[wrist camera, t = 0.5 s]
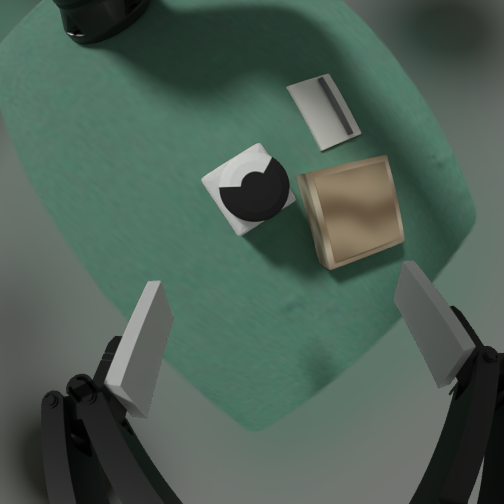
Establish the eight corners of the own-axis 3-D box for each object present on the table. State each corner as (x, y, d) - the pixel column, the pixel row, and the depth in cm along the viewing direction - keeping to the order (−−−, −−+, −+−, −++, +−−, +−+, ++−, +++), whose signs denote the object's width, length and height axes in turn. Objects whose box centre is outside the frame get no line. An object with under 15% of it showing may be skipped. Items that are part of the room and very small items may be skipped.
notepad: (285, 89, 32) (288, 84, 30) (326, 76, 32) (331, 71, 30) (319, 151, 34) (324, 149, 33) (358, 135, 35) (364, 132, 33)
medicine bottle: (282, 199, 35) (313, 200, 23) (235, 230, 35) (243, 246, 23) (252, 152, 33) (268, 129, 21) (204, 183, 33) (195, 174, 21)
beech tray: (295, 176, 34) (305, 173, 30) (371, 157, 35) (387, 154, 31) (319, 263, 37) (330, 270, 32) (389, 237, 37) (405, 241, 33)
